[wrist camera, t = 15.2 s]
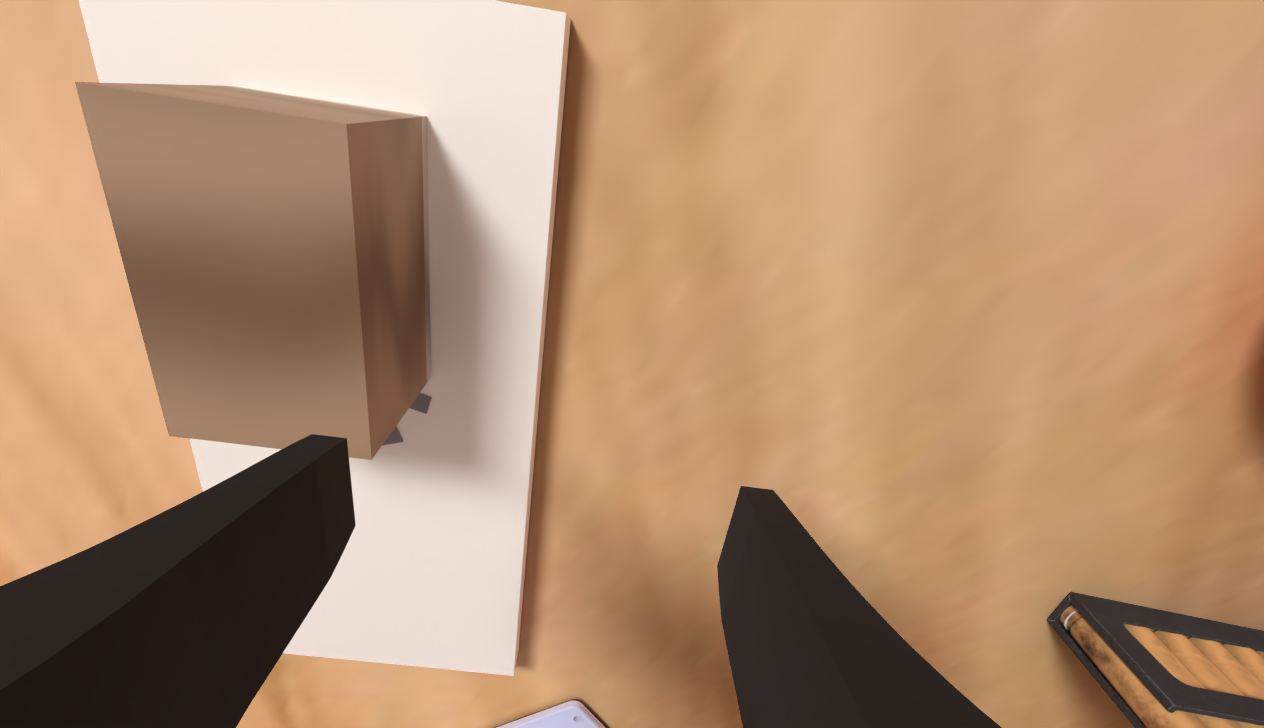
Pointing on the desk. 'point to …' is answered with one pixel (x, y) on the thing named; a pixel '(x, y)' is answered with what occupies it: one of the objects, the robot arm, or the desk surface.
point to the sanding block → (270, 257)
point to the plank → (459, 291)
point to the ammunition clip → (1167, 663)
